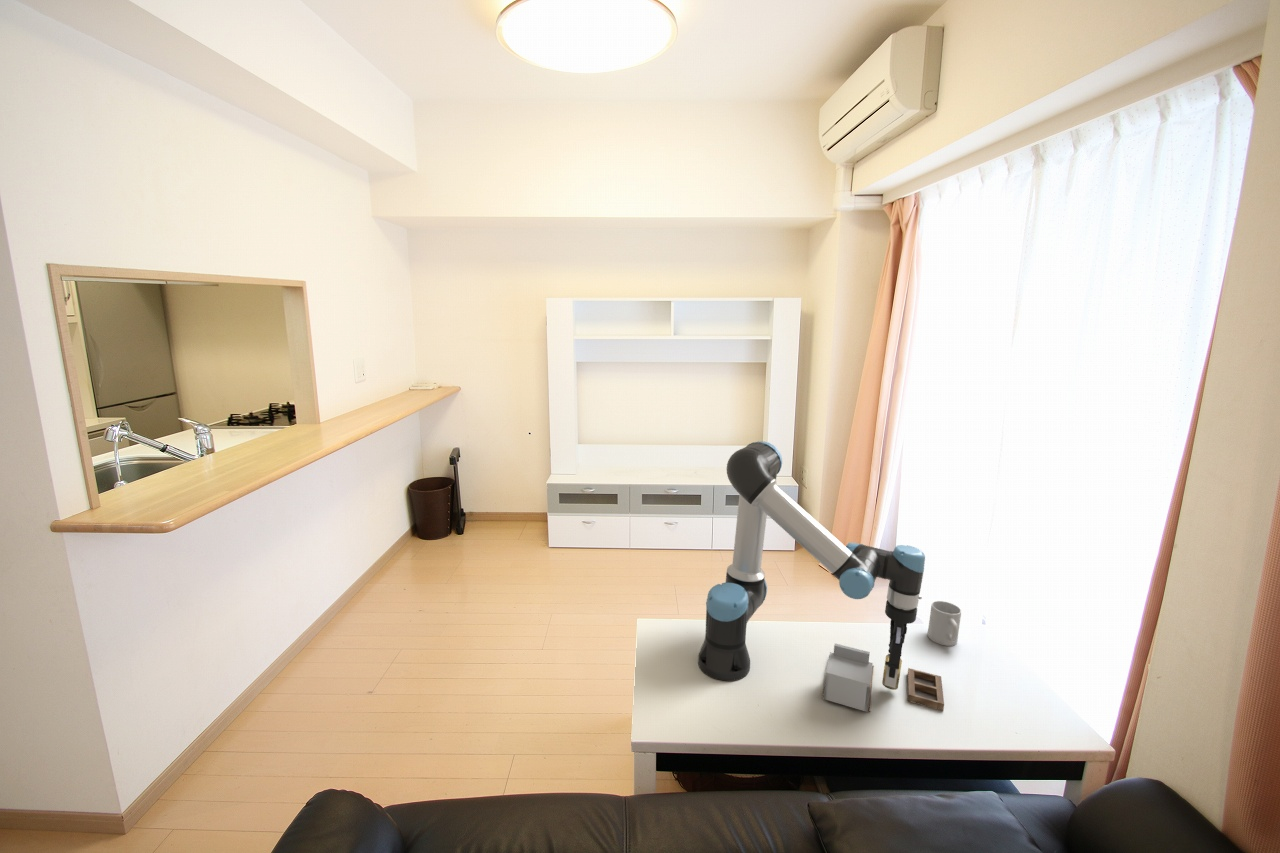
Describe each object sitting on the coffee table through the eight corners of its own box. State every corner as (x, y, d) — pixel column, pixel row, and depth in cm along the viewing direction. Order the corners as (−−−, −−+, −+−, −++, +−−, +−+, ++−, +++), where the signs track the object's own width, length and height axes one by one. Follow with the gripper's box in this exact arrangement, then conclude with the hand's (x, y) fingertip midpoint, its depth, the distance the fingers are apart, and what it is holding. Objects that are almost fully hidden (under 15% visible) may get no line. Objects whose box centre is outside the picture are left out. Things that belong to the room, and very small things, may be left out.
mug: (922, 630, 182) (926, 600, 180) (949, 632, 181) (953, 601, 179) (939, 651, 170) (943, 619, 168) (967, 653, 170) (972, 621, 168)
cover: (823, 698, 146) (826, 662, 144) (827, 677, 155) (830, 642, 152) (867, 711, 141) (871, 674, 139) (869, 689, 150) (873, 653, 148)
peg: (881, 686, 150) (885, 660, 148) (882, 678, 153) (885, 652, 152) (898, 691, 148) (901, 665, 147) (898, 682, 152) (901, 657, 150)
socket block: (907, 701, 148) (908, 694, 147) (907, 674, 159) (908, 668, 159) (943, 710, 144) (944, 704, 144) (940, 682, 156) (941, 676, 155)
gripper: (918, 622, 137) (905, 704, 142) (916, 593, 152) (904, 668, 157) (885, 614, 140) (873, 695, 145) (887, 586, 155) (876, 660, 160)
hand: (890, 680), depth 151 cm, fingers closed on peg, 4 cm apart
